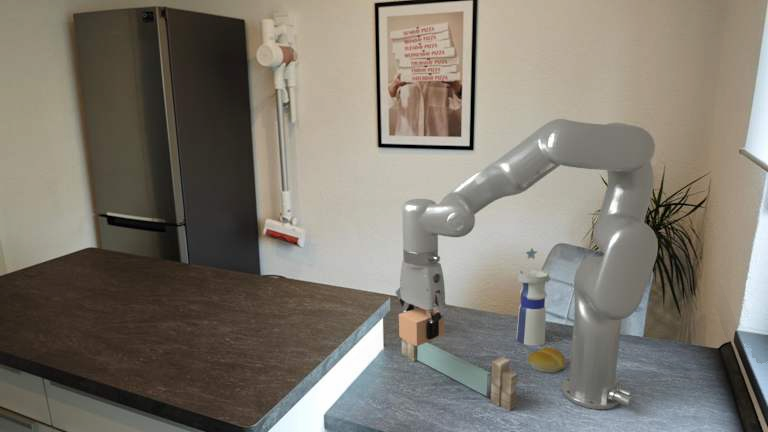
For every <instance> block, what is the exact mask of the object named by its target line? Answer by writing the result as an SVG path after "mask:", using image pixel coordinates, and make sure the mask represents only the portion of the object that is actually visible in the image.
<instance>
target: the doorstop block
mask: <svg viewBox="0 0 768 432" xmlns="http://www.w3.org/2000/svg"><path fill="white" fill-rule="evenodd" d="M432 314H433V316H434V315H435V314H434V310H432ZM444 316H445V315H444ZM444 316H443V317H442V318H441V320H439V335H438V336H437V337H435V338H433V339H431V340H429V339H427V322H429V320H428V317H427V313H426V310H424V309H422V308H419V307H418V308H415V309H413V310H410V311H407V312H404V313H403V312H401V313H399V314H398V332H399V333H398V334H399V338H401V340H402V339H404V340H406V341H408V342H410V343H412V344H413V345H415V346H419V345H422V344H424V343H426V342H427V343H429V342H431V341H434V340H436V339H439V338H441V337H444V336H445V334H444V333H445V332H444V331H445V330H444V329H445V327H444V326H445V324H444V322H445V321H444V320H445V319H444Z"/></svg>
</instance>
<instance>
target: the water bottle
mask: <svg viewBox="0 0 768 432" xmlns="http://www.w3.org/2000/svg"><path fill="white" fill-rule="evenodd" d="M525 253H526V254H527V255H528V256H527V257H526V259H527V260H529V259H531V258H532V260H533V259H536V258H535V255H536V254H537V253H538V251H535V250H534V249H533V248H532V247H531V249H530V250H529V251H526V252H525ZM550 280H551V278H550V274H549V272H547V271H546V270H544V269H540V268H534V267H533V268H530V269H529V275H526V274H524V273H523V271H522V270H519V272H518V283H519V282H520V283H522V287H521V290H520V291H519V300H520V304H519V307H518V317H517V328H516V334H515V336H516V337H515V339H516V340H517V342H518V343H521V344H523V345H526V346H530V347H534V346H535V347H536V346H541V345H543V344H546V343H545V342H546V320H547V318H546V317H547V310H546V306H545V302H546V301H545V300H546V297H547V296H548V294H547V292H546V288H545V287H546V283H548V282H550Z"/></svg>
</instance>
